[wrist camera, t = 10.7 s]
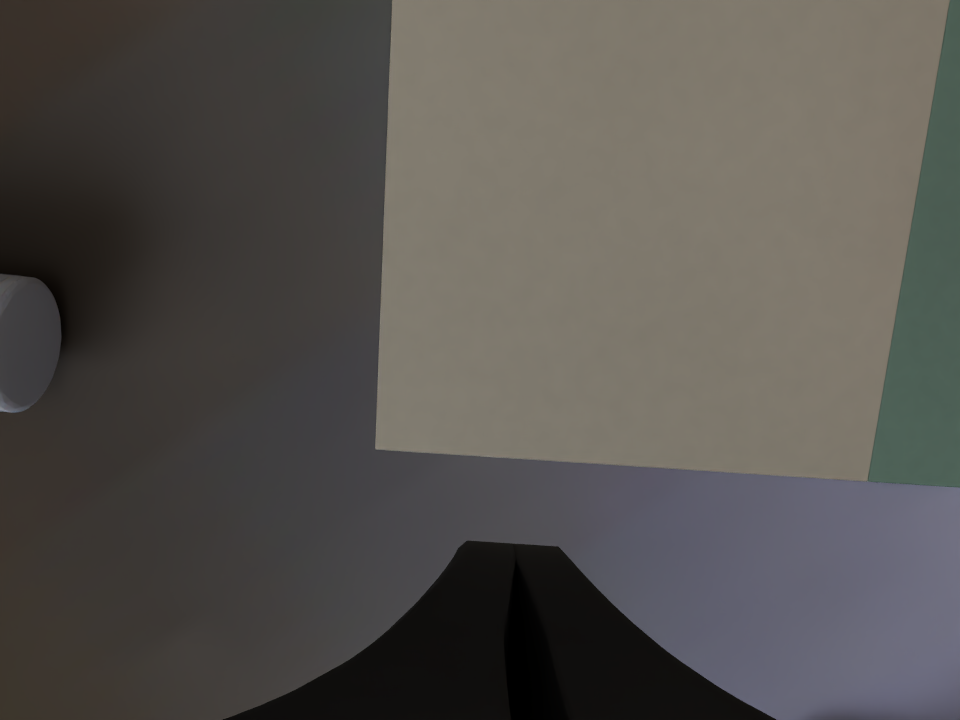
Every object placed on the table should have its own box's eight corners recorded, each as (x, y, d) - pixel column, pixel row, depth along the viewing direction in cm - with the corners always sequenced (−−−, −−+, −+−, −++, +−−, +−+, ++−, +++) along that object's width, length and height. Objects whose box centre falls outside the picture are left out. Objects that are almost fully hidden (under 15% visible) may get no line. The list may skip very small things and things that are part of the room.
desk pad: (1353, 510, 20) (1360, 513, 20) (376, 447, 20) (375, 449, 20) (1545, -117, 17) (1556, -120, 17) (400, -189, 17) (399, -193, 17)
